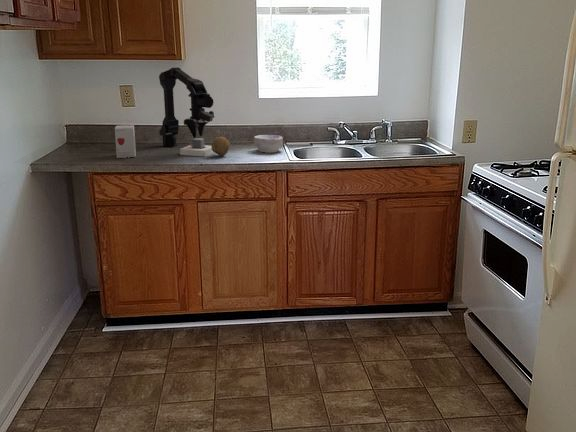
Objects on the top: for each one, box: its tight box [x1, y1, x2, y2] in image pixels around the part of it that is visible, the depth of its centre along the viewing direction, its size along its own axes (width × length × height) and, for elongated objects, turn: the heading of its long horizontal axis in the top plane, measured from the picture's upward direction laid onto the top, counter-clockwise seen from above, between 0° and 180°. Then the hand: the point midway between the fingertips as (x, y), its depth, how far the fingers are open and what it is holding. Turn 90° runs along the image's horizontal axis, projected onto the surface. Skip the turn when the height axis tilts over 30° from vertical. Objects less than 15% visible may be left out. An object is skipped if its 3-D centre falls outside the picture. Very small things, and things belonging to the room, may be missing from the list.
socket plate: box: [179, 143, 216, 157], centre depth 287 cm, size 14×14×4 cm
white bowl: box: [253, 134, 284, 154], centre depth 293 cm, size 15×15×8 cm
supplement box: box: [114, 124, 137, 159], centre depth 276 cm, size 9×9×15 cm
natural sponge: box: [211, 136, 231, 157], centre depth 279 cm, size 9×9×10 cm
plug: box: [191, 137, 205, 149], centre depth 286 cm, size 5×4×6 cm
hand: (198, 136), depth 284 cm, fingers open, 6 cm apart
